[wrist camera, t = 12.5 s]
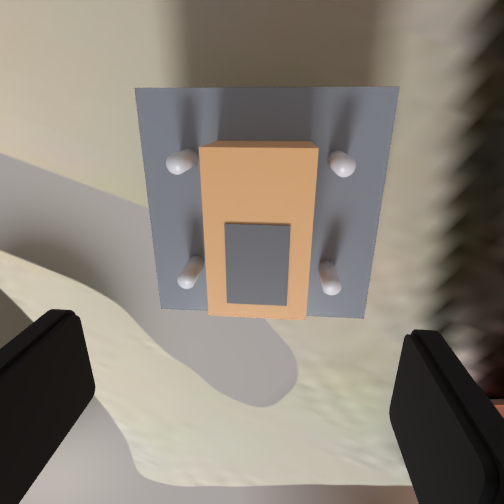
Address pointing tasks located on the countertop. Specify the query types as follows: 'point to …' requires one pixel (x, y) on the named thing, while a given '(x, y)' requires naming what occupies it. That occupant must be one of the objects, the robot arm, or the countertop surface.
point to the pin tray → (270, 129)
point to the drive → (258, 226)
